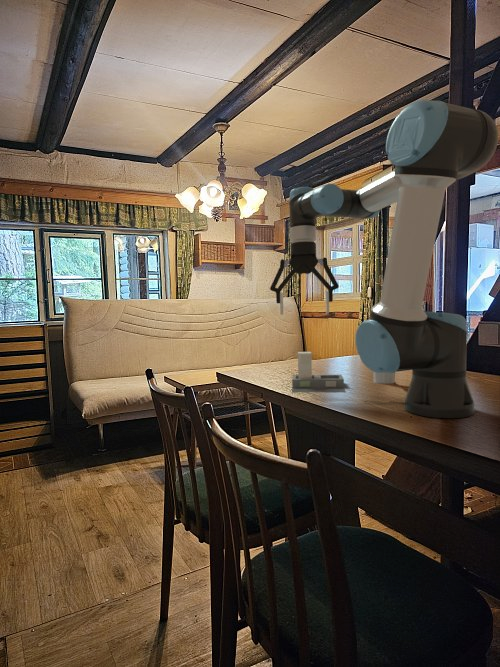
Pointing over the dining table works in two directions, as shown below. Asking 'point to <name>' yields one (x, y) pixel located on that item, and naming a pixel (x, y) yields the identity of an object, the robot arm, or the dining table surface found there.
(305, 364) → the plug
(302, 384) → the panel
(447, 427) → the dining table surface
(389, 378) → the cup
